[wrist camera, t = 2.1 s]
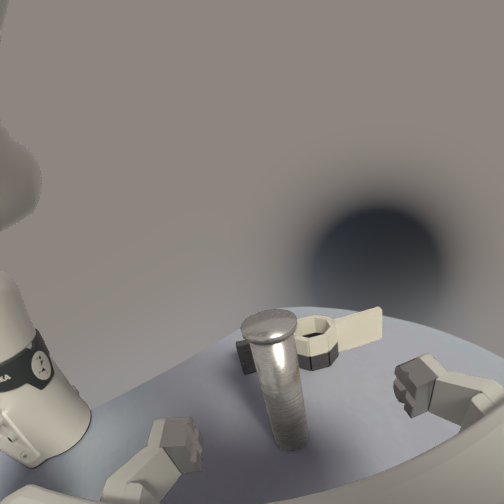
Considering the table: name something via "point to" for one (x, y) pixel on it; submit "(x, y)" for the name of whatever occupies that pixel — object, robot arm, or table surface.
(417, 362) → the robot arm
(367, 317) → the hinge leaf
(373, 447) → the table surface
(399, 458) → the table surface
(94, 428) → the table surface
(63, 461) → the table surface
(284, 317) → the hinge pin
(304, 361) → the hinge leaf
